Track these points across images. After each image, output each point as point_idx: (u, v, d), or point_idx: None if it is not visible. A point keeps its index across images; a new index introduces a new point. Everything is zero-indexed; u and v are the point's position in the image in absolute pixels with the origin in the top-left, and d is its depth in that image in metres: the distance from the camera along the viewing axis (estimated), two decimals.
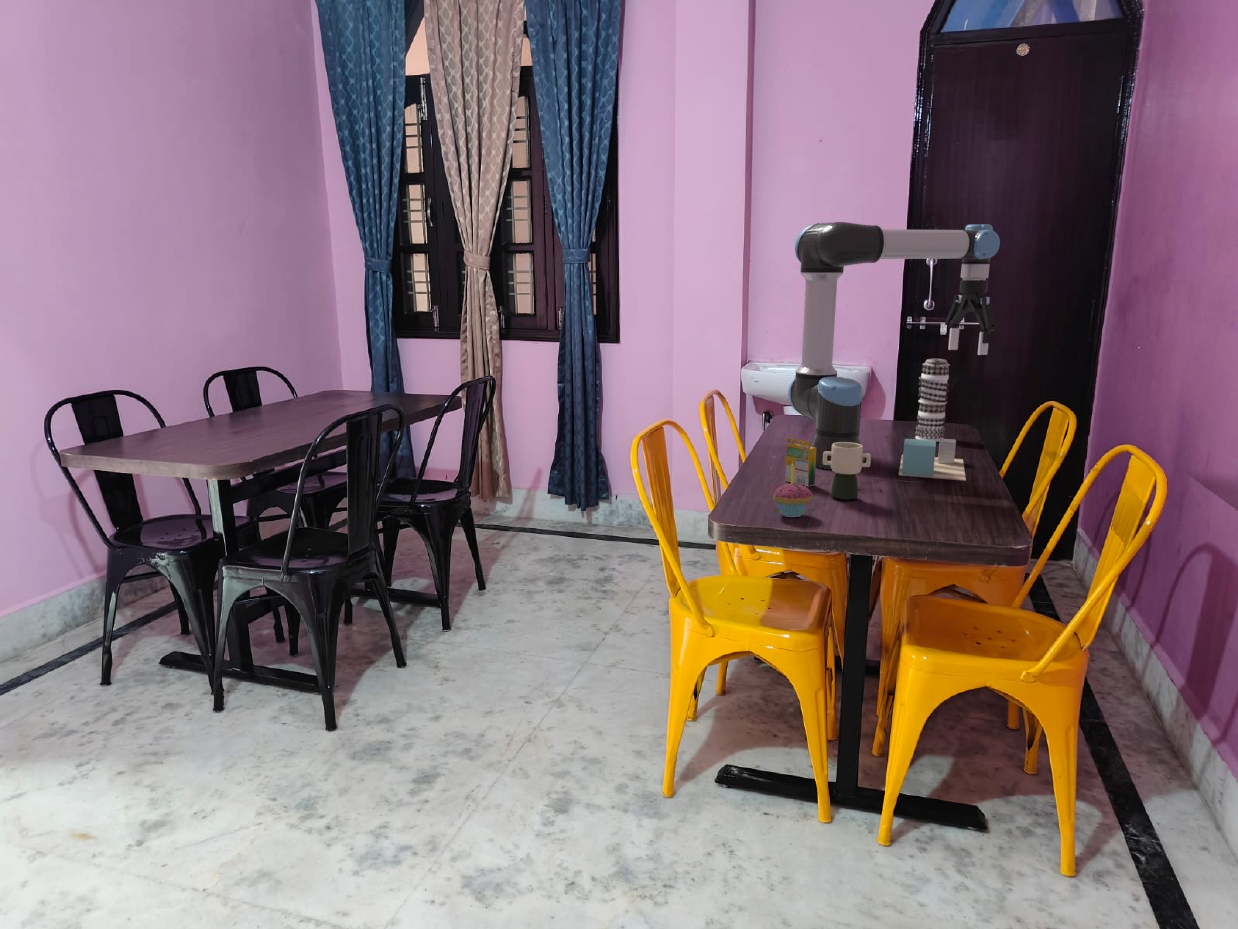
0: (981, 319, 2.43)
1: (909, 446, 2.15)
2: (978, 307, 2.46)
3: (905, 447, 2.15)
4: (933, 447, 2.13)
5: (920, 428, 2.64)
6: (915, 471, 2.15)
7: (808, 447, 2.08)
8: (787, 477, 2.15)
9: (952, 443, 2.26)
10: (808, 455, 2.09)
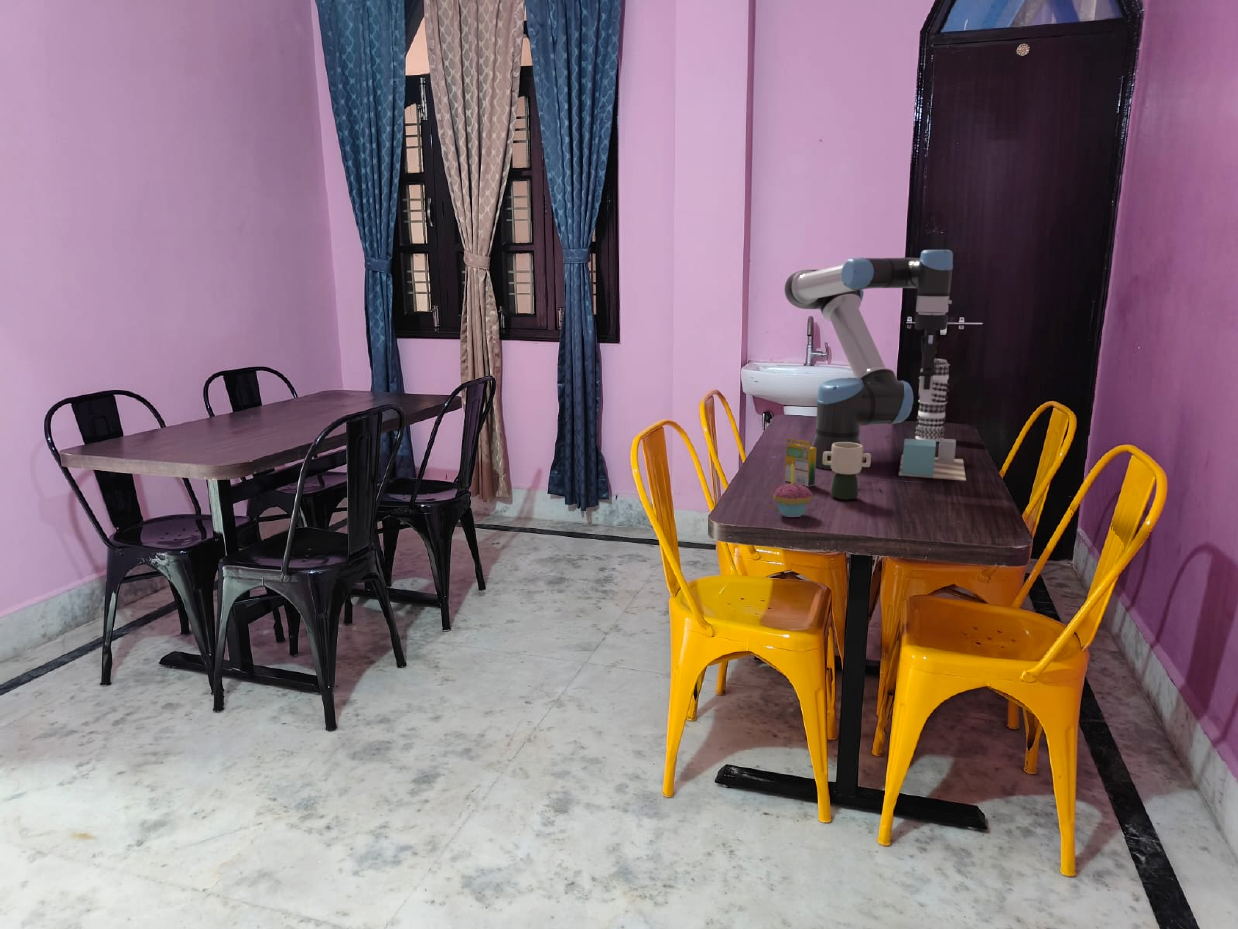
0: None
1: (909, 446, 2.15)
2: None
3: (905, 447, 2.15)
4: (933, 447, 2.13)
5: (920, 428, 2.64)
6: (915, 471, 2.15)
7: (808, 447, 2.08)
8: (787, 477, 2.15)
9: (952, 443, 2.26)
10: (808, 455, 2.09)
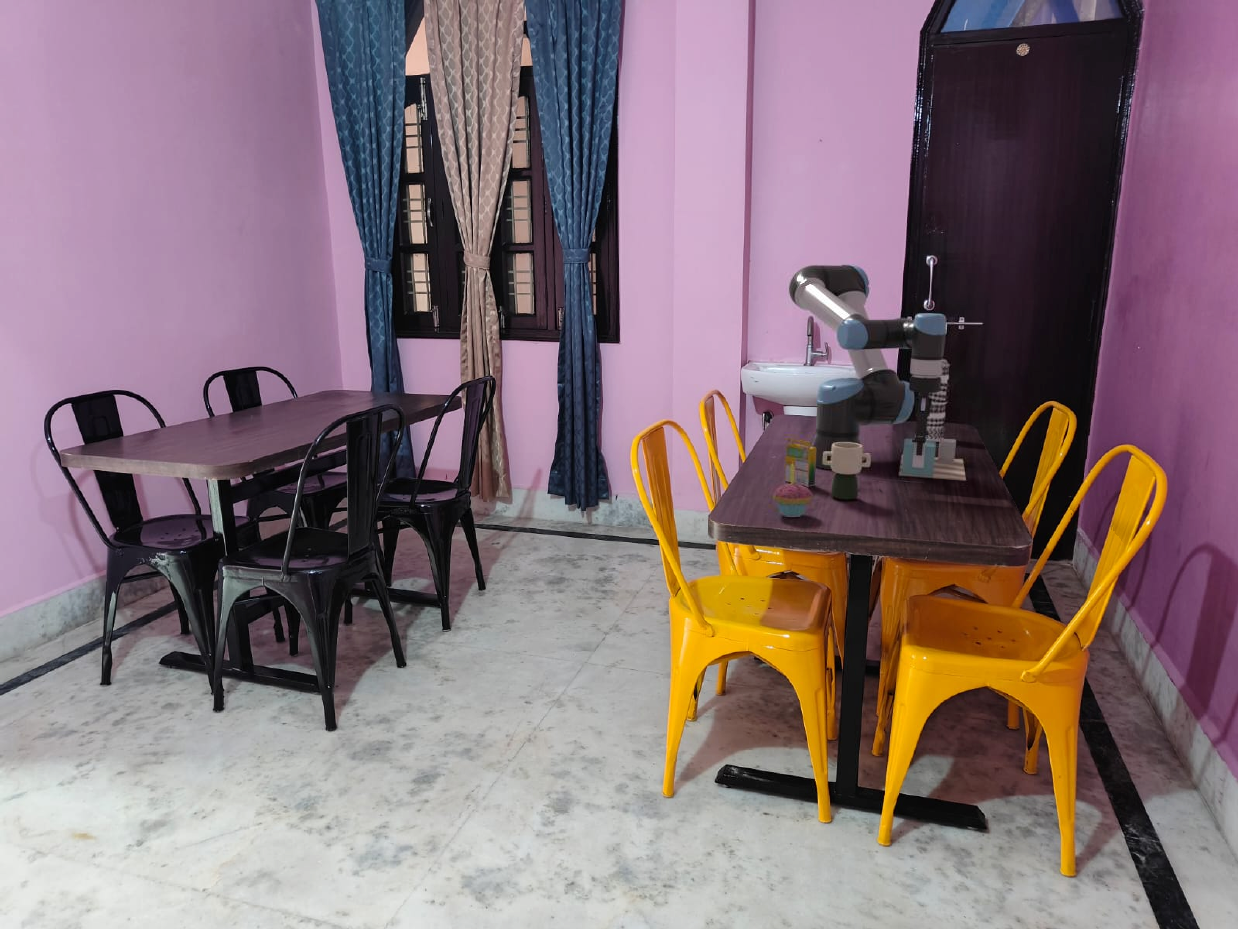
0: None
1: (909, 446, 2.15)
2: None
3: (905, 447, 2.15)
4: (933, 447, 2.13)
5: None
6: (915, 471, 2.15)
7: (808, 447, 2.08)
8: (787, 477, 2.15)
9: (952, 443, 2.26)
10: (808, 455, 2.09)
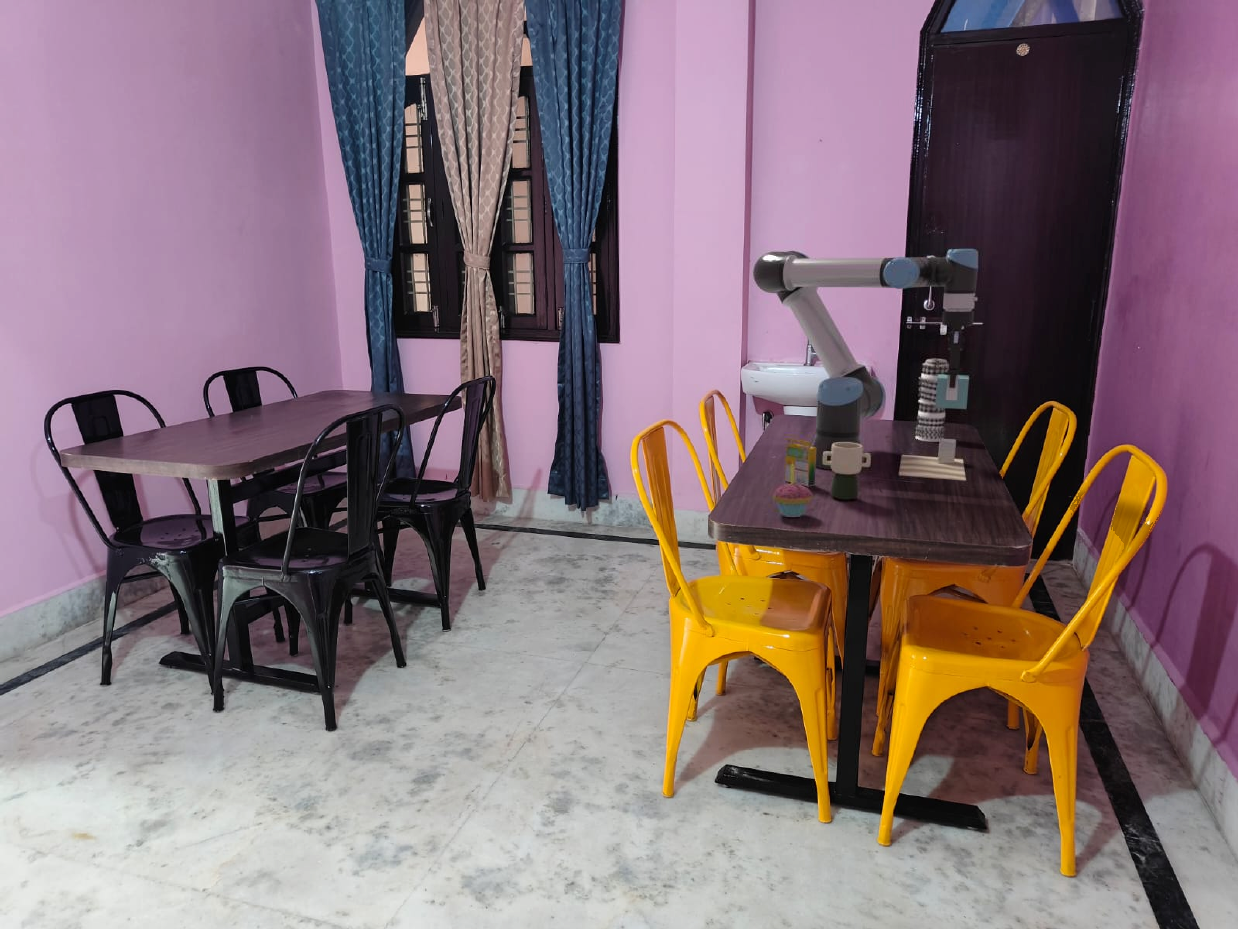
0: None
1: (942, 379, 2.20)
2: None
3: (939, 380, 2.21)
4: (966, 379, 2.18)
5: (920, 428, 2.64)
6: (949, 404, 2.21)
7: (808, 447, 2.08)
8: (787, 477, 2.15)
9: (952, 443, 2.26)
10: (808, 455, 2.09)
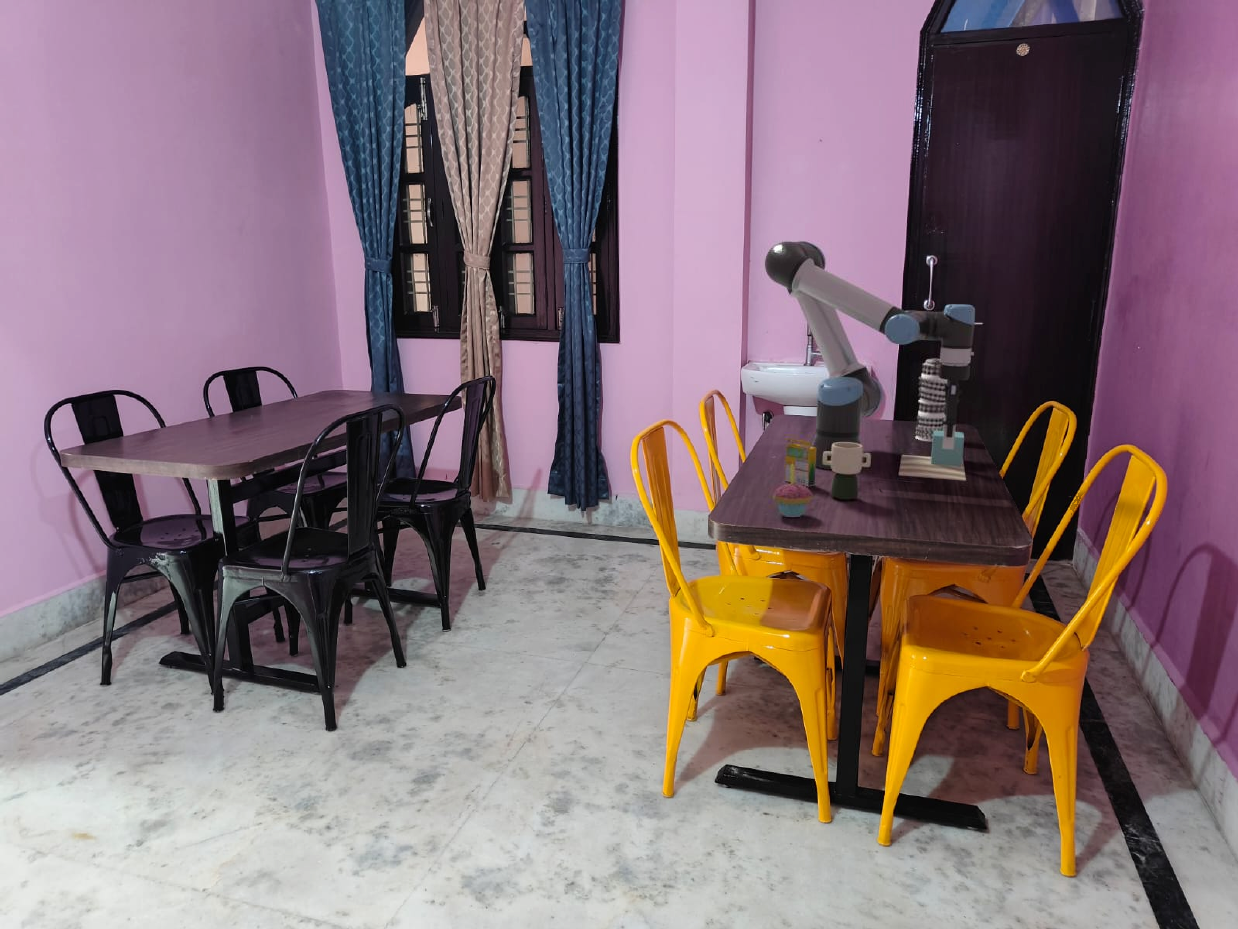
0: None
1: (938, 437, 2.25)
2: None
3: (935, 438, 2.25)
4: (962, 438, 2.23)
5: (920, 428, 2.64)
6: (944, 461, 2.26)
7: (808, 447, 2.08)
8: (787, 477, 2.15)
9: None
10: (808, 455, 2.09)
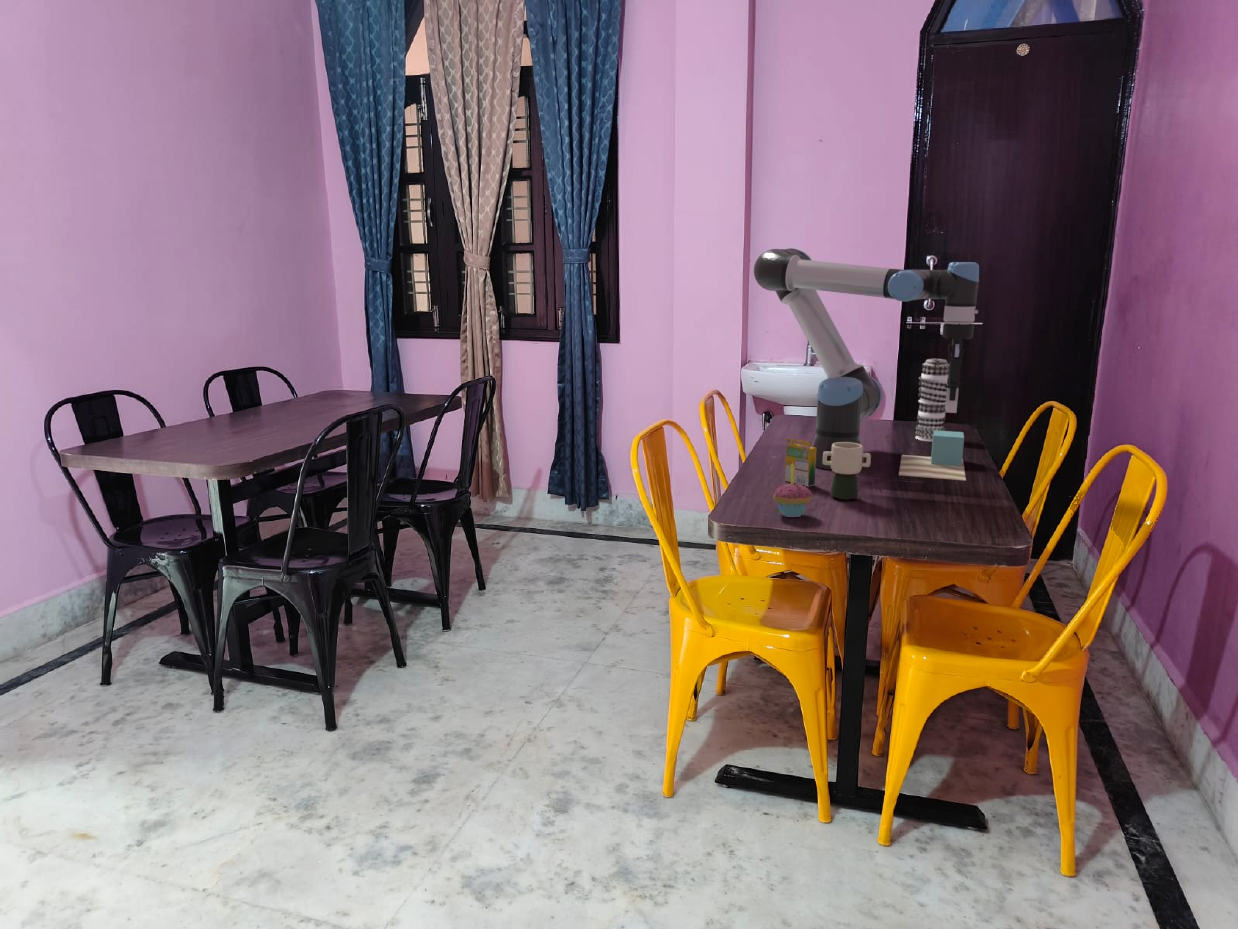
0: None
1: (938, 437, 2.25)
2: None
3: (935, 438, 2.25)
4: (962, 438, 2.23)
5: (920, 428, 2.64)
6: (944, 461, 2.26)
7: (808, 447, 2.08)
8: (787, 477, 2.15)
9: None
10: (808, 455, 2.09)
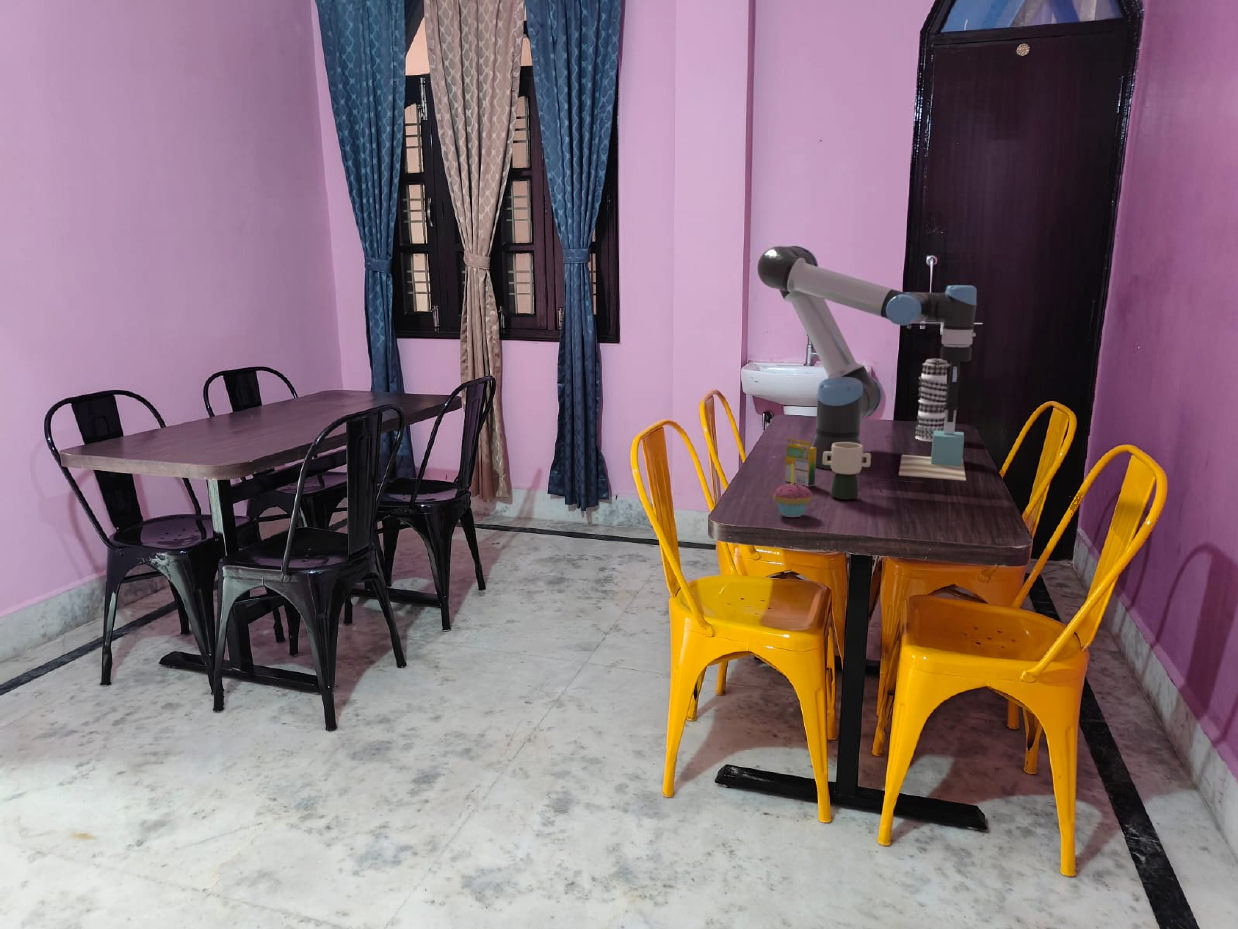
0: None
1: (938, 437, 2.25)
2: None
3: (935, 438, 2.25)
4: (962, 438, 2.23)
5: (920, 428, 2.64)
6: (944, 461, 2.26)
7: (808, 447, 2.08)
8: (787, 477, 2.15)
9: None
10: (808, 455, 2.09)
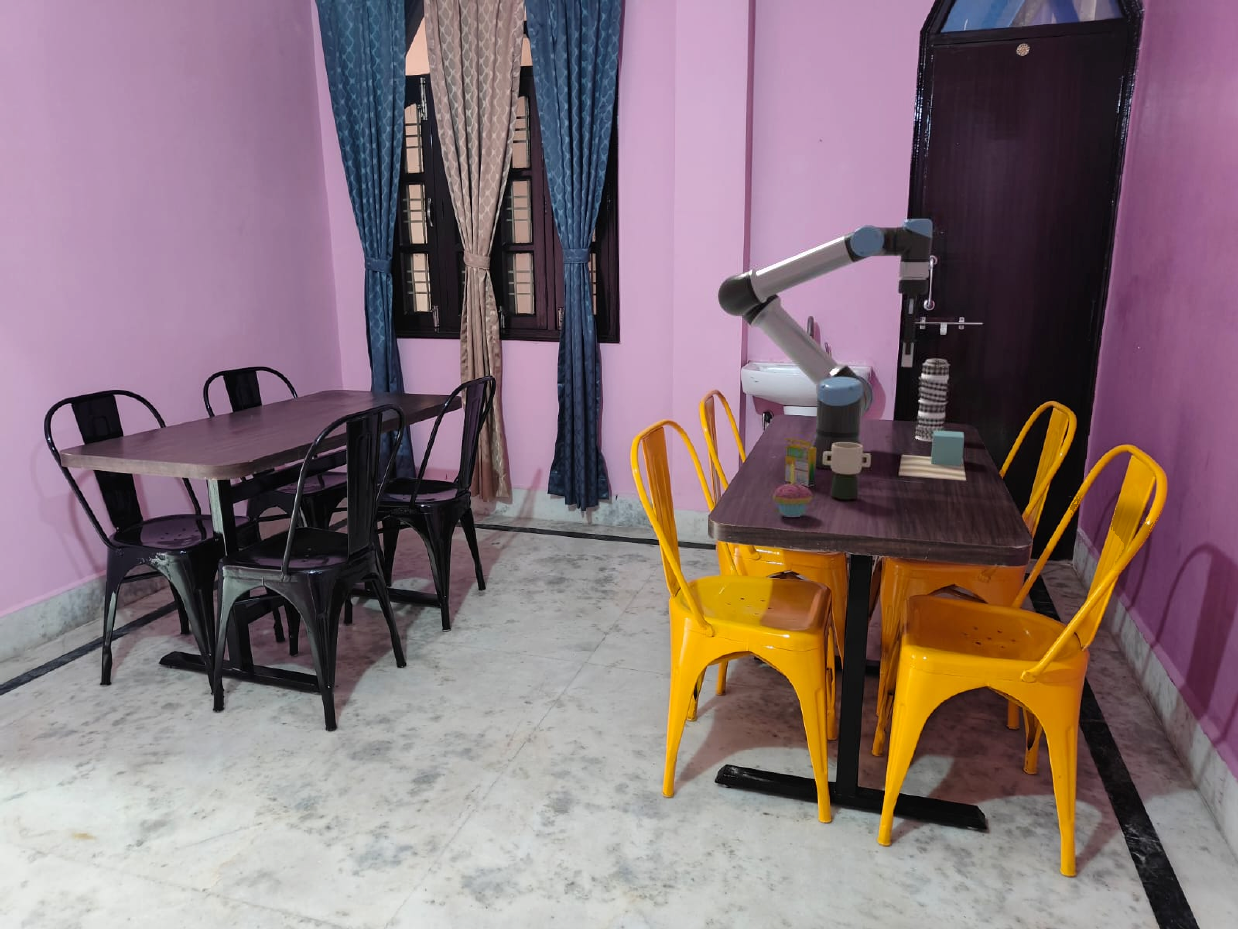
0: None
1: (938, 437, 2.25)
2: None
3: (935, 438, 2.25)
4: (962, 438, 2.23)
5: (920, 428, 2.64)
6: (944, 461, 2.26)
7: (808, 447, 2.08)
8: (787, 477, 2.15)
9: None
10: (808, 455, 2.09)
